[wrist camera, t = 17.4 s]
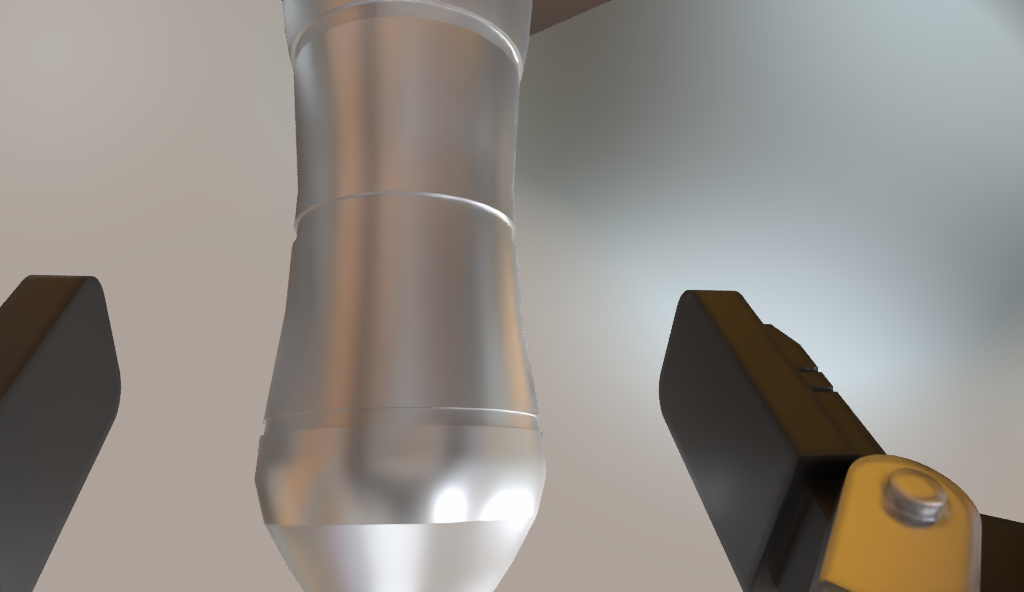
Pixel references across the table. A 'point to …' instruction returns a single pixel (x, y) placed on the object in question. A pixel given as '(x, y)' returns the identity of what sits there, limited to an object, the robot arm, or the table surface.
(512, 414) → the silver metal bottle
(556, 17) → the cabinet
